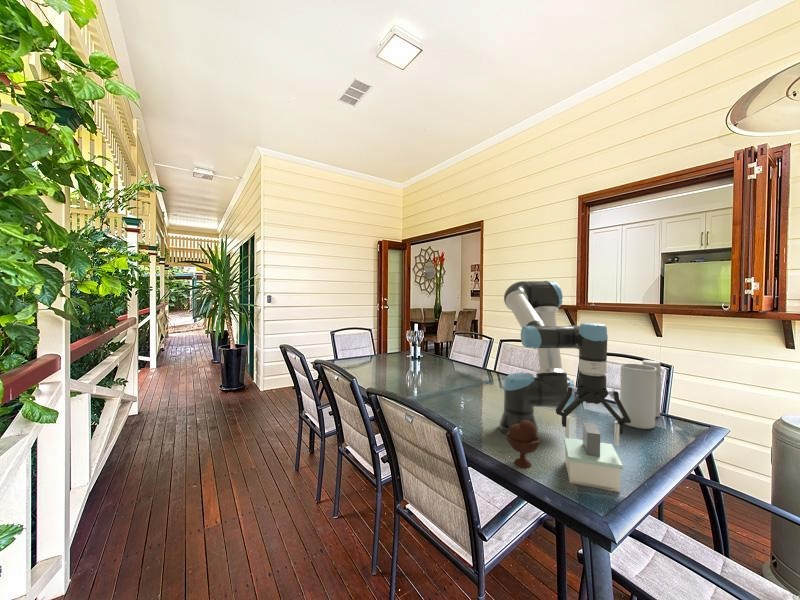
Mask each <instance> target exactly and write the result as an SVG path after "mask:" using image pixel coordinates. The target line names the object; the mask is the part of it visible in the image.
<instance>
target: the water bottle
mask: <svg viewBox="0 0 800 600" xmlns="http://www.w3.org/2000/svg"><path fill="white" fill-rule="evenodd" d="M641 365H648V366H652V367H655V368H656V409H655V418H659V417H660V416H661V399H662V398H661V397H662V392H661V391H662V373H663V372H662V367H661V362H660V361H658V360H653V359H648V360H647V359H643V360H642V363H641Z"/></svg>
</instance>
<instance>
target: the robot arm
mask: <svg viewBox="0 0 800 600" xmlns="http://www.w3.org/2000/svg"><path fill="white" fill-rule="evenodd" d="M563 298H564V297H563V291H562V288H561V286H560V285H559V284H558V283H557V282H555V281H550V280H543V281H542V280H540V281H539V280H536V281H535V280H531V281H528V280H527V281H524V280H523V281H517V282H514V283H513V284H511V285H510V286H509V287H508V288H507V289H506V290H505V292H504V296H503V302H504V304H505V306H506V308H507V309H508V310H509V311H511V312H512V313H513V315H514V317H515V319H516V320H517V322H518V324H519V326H520V327H521V330H520V341H521V344H522V347H524V348H529V349H530V348H531V349H537V356H538V364H539V365H538V366H539V370H538V371H537V372H536V373H535V375H536V376H535V375H534V374H532V373H529V372H515V373H510V374H508V375H507V376H505V378H504V384H503V391H504V392H503V413H502V415H501V418H500V420H499V431H500V432H501V433H503V434H505V435H506V433H507V432H508V431H509V430H510V427H511V426H512V425H514V424H516V423H520V422H521V421H523V420H529V421H531V422H532V423H533V424H534V425H535V427H536V430H537V431H536V433H537V435H538V436H539V426H538V423H537V419H536V417H535V412H534V411H535V408H537V407H538V408H556V409H555V414H556V415H559V416H561V425H562V427H564V429H565V430H564V432H565V434H564V435H565V436H564V437H566V438H567V439H569V438H570V418H569V417H570V416H569V415H570V414H571V413H572V412H573V411H574V410H576V409H577V408H578V407H579V406H580V405H581V404H583V403H584V402H585V403H586V404H595V405H599V404H602V405H603V406H604V408H606V410H607V411H608V412H609V413H610V414H611V416H612V417H613V418H614V419H615V421H614V423H613V425H614V426H613V429H614V430H613V431H614V432H613V434H614V435H613V442H614V444H615V446H617V447H620V435H624V426H625V425H626V424H625V423H631V420H630V418H629V416H628V414H627V413H626V411H625V409H624V407H623V405H622V403H621V401H620V394H619V393H620V392H618V390H616V389H612V390H607V375H606V374H607V368H608V367H607V365H608V364H607V363H608V362H607V359H608V356H607V355H608V338H609V336H608V327H607V326H606V324H603V323H598V322H582V323H581V324H580V325H575V324H572V325H571V324H570V325H567V326H566V325H564V326H563V325H561V326H560V325H557V317H556V313H557V312H558V311H559V308H560V307H561V306H562V304H563ZM561 349H575V350H578V371H579V372H578V386H577V387H575V383H574V380H573V379H572V378H570V377H568V373H567V372H566V370H564V369H563V365H562V356H561ZM575 393H578V396H576V398H575ZM608 395H609V396H610V398H611V399H613V401H614V402H615V404H616V406H617V408H618V410H619V413H620V412H621V414H622V416H623V417H624V418H620V414H618V413H617V412H616V411H615V410H614V409H613V407H612V406H611V405H610V404H609V403H608V402H607V401H606V398H607V397H608ZM564 408H565V409H564Z"/></svg>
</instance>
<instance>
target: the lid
mask: <svg viewBox="0 0 800 600" xmlns="http://www.w3.org/2000/svg"><path fill="white" fill-rule="evenodd" d="M563 442H564V446H565V447H564V448H565V449H566V452H567V456H568V460H569V461H574V462H580V463H586V464H592V465H598V466H604V467H610V468H616V469H621V470H622V471H623V470H624V464H623V462H622V461H621V459H620V456H619V455H618V453H617V452H616V450H615V448H614V445H613V444H612V443H605V442H601V433H600V431H599V429H598V427H597V425H596V423H589V422H582V439H578V438H571V437H569V439H567V438H566V436H564V437H563Z"/></svg>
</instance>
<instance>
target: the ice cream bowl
mask: <svg viewBox="0 0 800 600" xmlns="http://www.w3.org/2000/svg"><path fill="white" fill-rule="evenodd" d="M536 431H537V430H536V427H535V425H534V424H533V423H532V422H531V421H529V420H523V421H521V422H520V423H516V424H514V425H512V426H511V427H510V430H509V431H508V432H507V433H506V434H505V438H506V440H507V443H508V444H509V445H510V447H511V448H512V449H513V450H514V451H516V452H517V453H519V458H516V459H515V460H513V463H514V465H515V466H517V467H519V468H522V469H529V468H531V467H532V463H531V462H530V460H529V459H527V458H526V457H527V455H526V454H531V453H533V452H534V451H536V450H537V448H538V447H539V445H540V443H541V441H542V438H541V437H540V436H539V434H538V435H537V433H536Z"/></svg>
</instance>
